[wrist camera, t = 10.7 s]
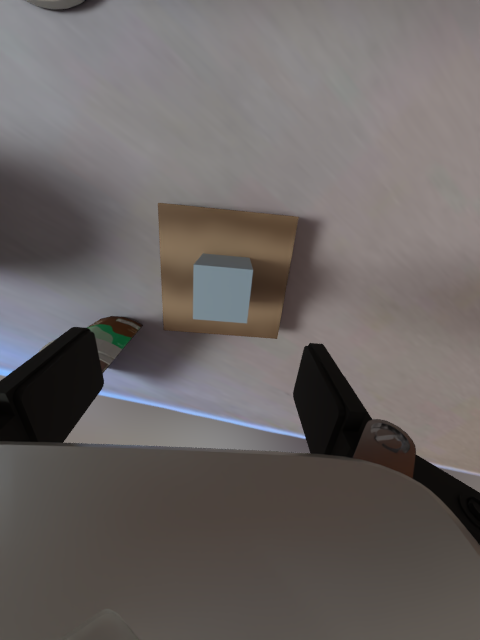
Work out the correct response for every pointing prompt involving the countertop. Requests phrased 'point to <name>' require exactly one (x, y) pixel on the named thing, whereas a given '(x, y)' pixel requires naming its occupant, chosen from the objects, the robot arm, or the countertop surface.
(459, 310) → the countertop surface
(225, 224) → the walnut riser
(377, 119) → the countertop surface
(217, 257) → the slate block
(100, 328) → the food container
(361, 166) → the countertop surface
